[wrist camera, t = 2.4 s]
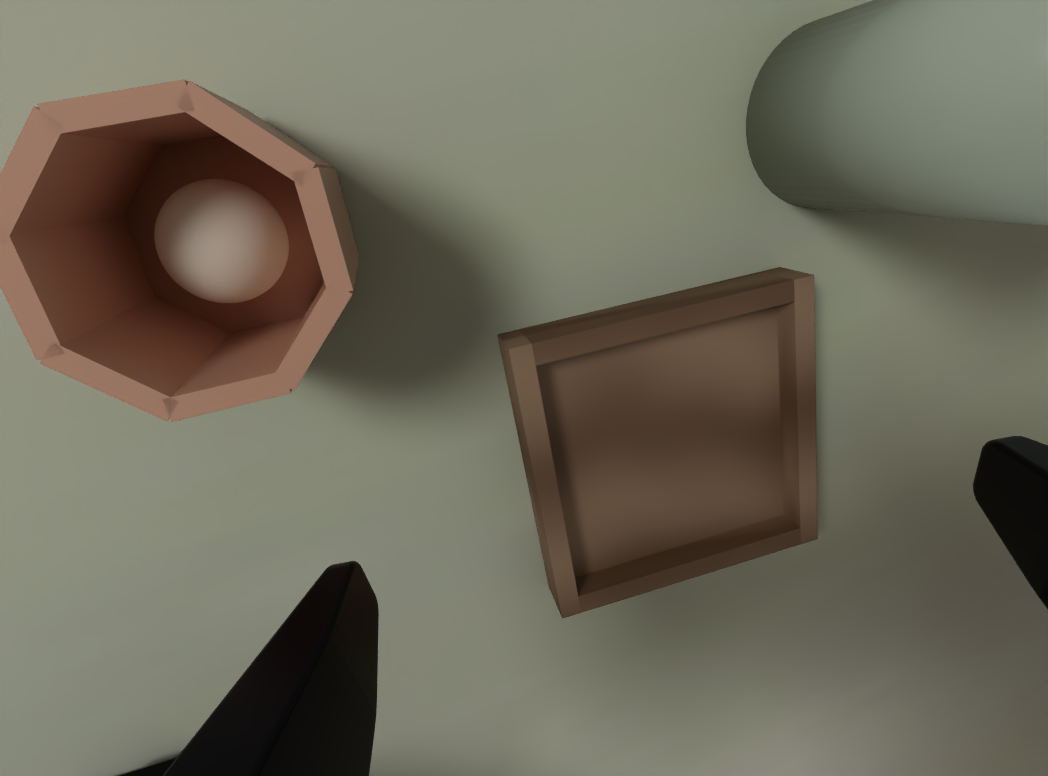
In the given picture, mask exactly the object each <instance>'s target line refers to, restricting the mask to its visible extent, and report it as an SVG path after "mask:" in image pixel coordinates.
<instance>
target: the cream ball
mask: <svg viewBox="0 0 1048 776" xmlns="http://www.w3.org/2000/svg"><path fill="white" fill-rule="evenodd" d="M154 239H155V246H156V250H157V254H158V257H159V259H160V261H161V263H162V265H163V267H164V268H165V270H166V271H167V273H168V274H169V275H170V276H171V278H172V279H173V280H174V281H175V282H176V283H177V284H178V285H180V286H181V287H182V288H184V289H185V290H186V291H188V292H190V293H191V294H193V295H195V296H197V297H200V298H202V299H205V300H208V301H213V302H219V303H238V302H244V301H247V300H251V299H253V298H255V297H258V296H259V295H261V294H263V293H264V292H266V291H267V290H268V289H270V288H271V287H272V286H273V285H274V284H275V283H276V282H277V280H278V279H279V278H280V276H281V274H282V272H283V270H284V268H285V266H286V263H287V259H288V253H289V242H288V235H287V231H286V228H285V225H284V222H283V220H282V218H281V217H280V215H279V213H278V212H277V210H276V209H275V207H274V206H273V205H272V204H271V203H270V202H269V201H268V200H267V199H266V198H265V197H264V196H263V195H261V194H260V193H258V192H257V191H255V190H254V189H252V188H250V187H248V186H246V185H243V184H241V183H238V182H234V181H231V180H225V179H205V180H200V181H196V182H193V183H190V184H188V185H185V186H183V187H182V188H180V189H178V190H177V191H176V192H174V193H173V194H172V195H171V196H170V197H169V198H168V199H167V200H166V202H165V203H164V205H163V206H162V208H161V209H160V212H159V214H158V216H157V220H156V223H155V230H154Z"/></svg>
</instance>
